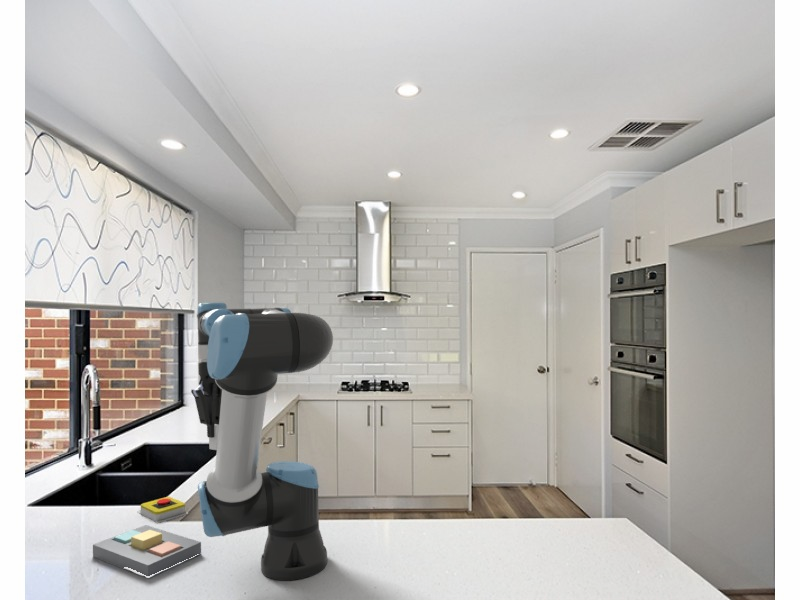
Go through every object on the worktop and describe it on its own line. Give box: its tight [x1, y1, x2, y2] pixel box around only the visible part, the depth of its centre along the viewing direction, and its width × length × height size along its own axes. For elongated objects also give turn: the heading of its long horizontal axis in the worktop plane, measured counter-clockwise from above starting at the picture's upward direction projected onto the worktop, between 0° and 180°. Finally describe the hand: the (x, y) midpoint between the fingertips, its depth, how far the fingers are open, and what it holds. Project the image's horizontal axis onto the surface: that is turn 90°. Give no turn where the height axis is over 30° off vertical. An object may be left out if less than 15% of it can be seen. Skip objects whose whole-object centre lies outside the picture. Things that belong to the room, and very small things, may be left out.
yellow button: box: [131, 530, 162, 551], centre depth 132 cm, size 5×5×3 cm
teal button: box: [113, 529, 141, 544], centre depth 136 cm, size 5×5×3 cm
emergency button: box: [137, 496, 189, 524], centre depth 162 cm, size 9×4×15 cm
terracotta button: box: [149, 541, 181, 557], centre depth 128 cm, size 5×5×3 cm
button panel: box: [92, 524, 202, 576], centre depth 132 cm, size 23×14×3 cm, turn 58°
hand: (215, 448), depth 143 cm, fingers closed
